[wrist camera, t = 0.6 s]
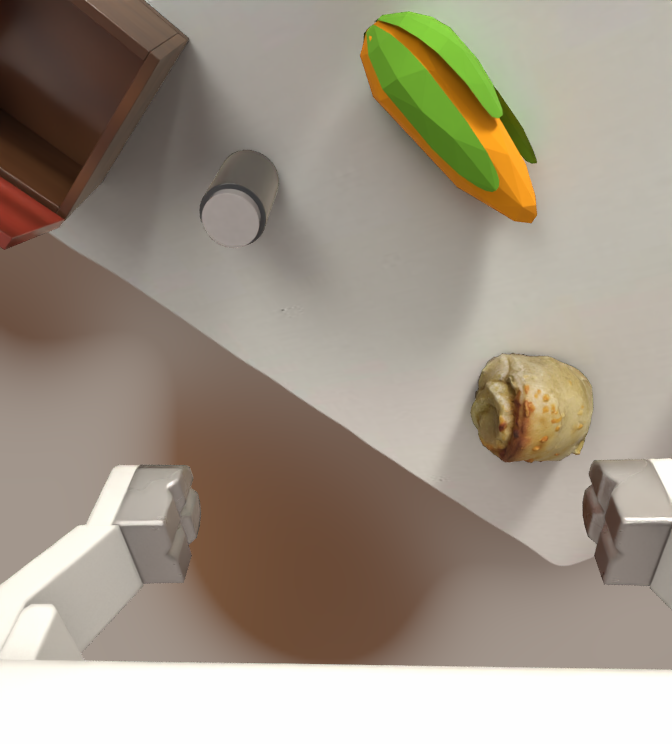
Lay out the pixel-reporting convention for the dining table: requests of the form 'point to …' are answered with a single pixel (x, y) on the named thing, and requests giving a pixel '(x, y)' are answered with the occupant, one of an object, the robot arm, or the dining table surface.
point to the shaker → (239, 199)
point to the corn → (450, 109)
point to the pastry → (532, 408)
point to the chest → (76, 90)
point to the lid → (22, 216)
